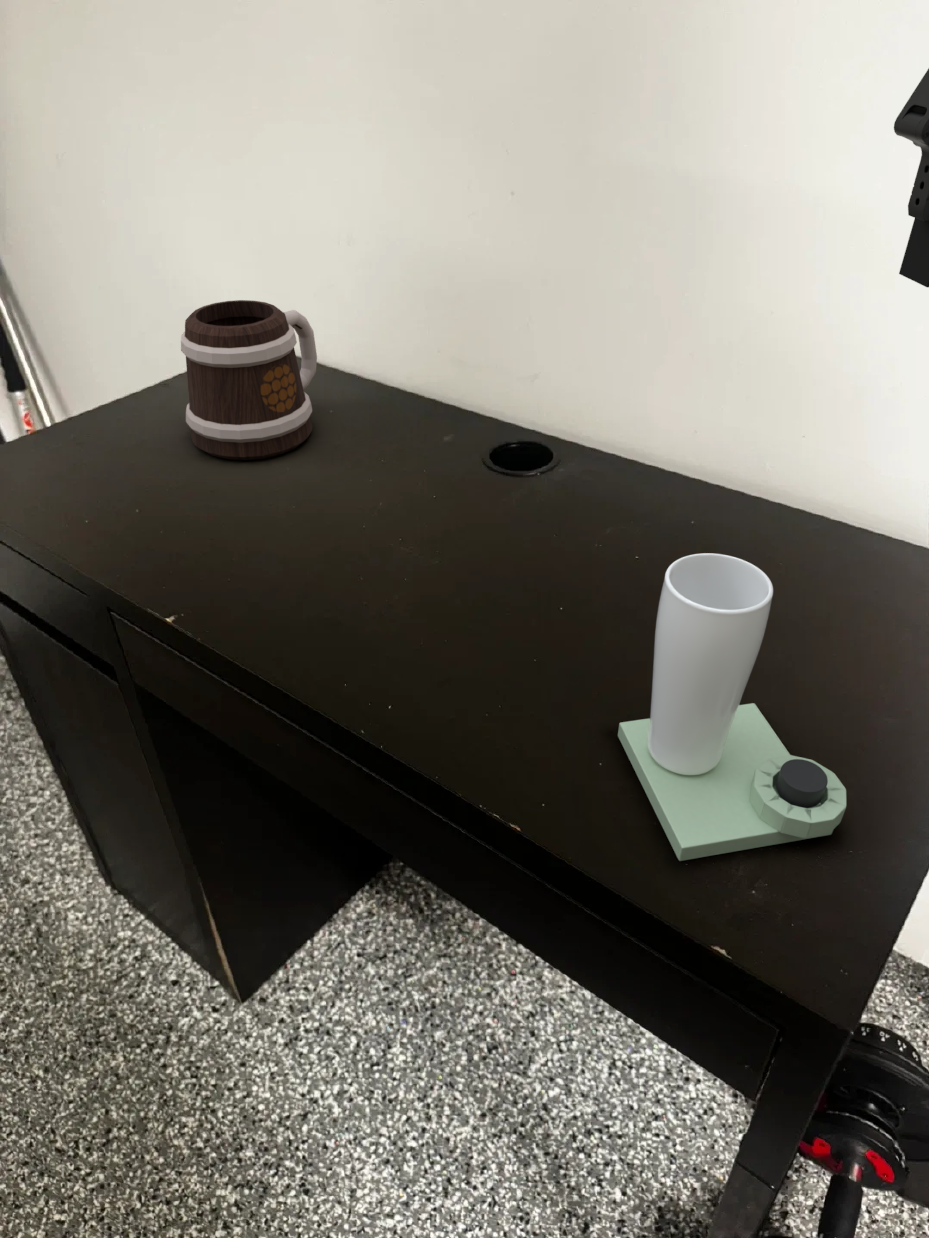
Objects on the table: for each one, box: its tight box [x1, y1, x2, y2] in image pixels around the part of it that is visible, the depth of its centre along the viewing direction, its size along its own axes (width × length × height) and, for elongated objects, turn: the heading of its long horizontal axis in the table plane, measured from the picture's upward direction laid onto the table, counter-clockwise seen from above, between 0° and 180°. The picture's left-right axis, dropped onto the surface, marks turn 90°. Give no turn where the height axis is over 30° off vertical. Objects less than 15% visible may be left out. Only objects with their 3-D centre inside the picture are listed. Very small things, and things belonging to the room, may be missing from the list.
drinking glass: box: [647, 552, 774, 775], centre depth 60 cm, size 7×7×15 cm
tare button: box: [776, 759, 828, 808], centre depth 59 cm, size 3×3×2 cm
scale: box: [617, 702, 847, 862], centre depth 63 cm, size 13×12×3 cm
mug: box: [180, 299, 318, 461], centre depth 107 cm, size 20×15×15 cm
